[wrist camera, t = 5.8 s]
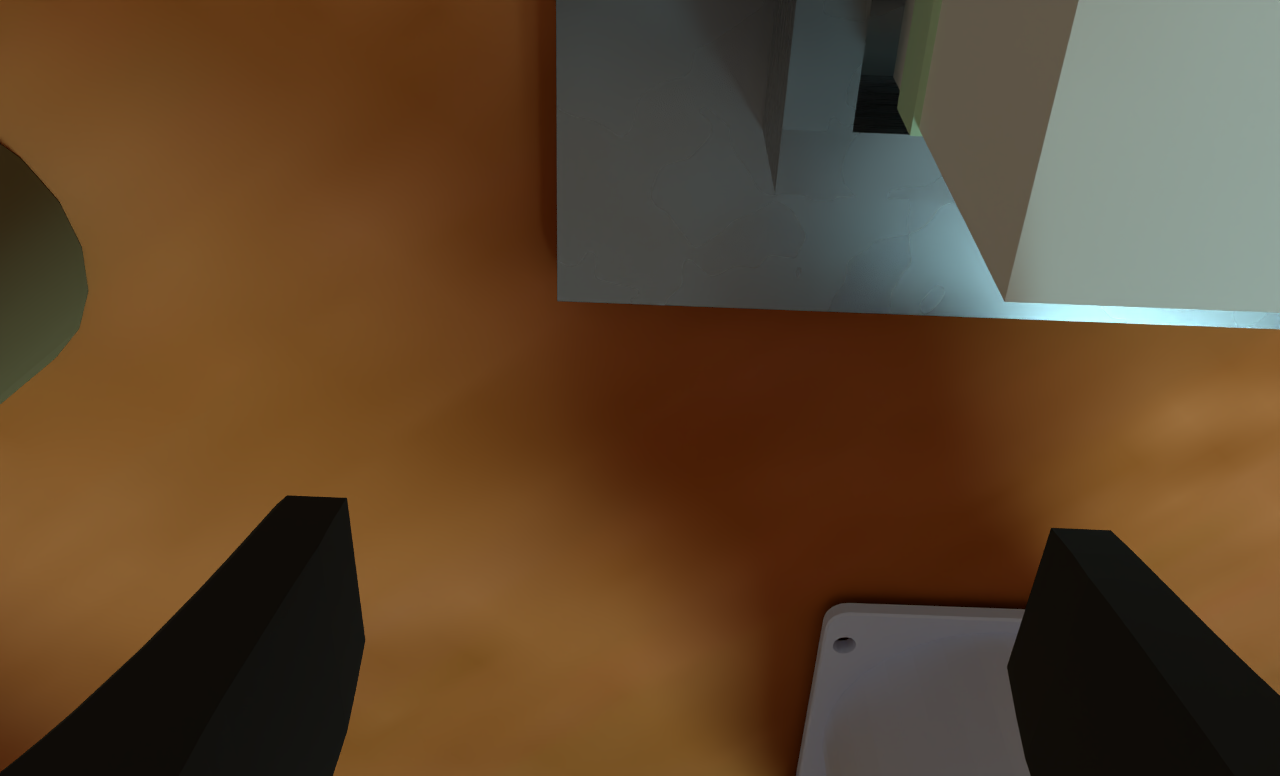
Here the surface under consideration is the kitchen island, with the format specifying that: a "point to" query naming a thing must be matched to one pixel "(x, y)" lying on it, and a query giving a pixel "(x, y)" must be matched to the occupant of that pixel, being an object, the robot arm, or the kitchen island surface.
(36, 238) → the green pawn
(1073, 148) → the pale grey block
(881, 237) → the stand base
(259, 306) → the kitchen island surface
